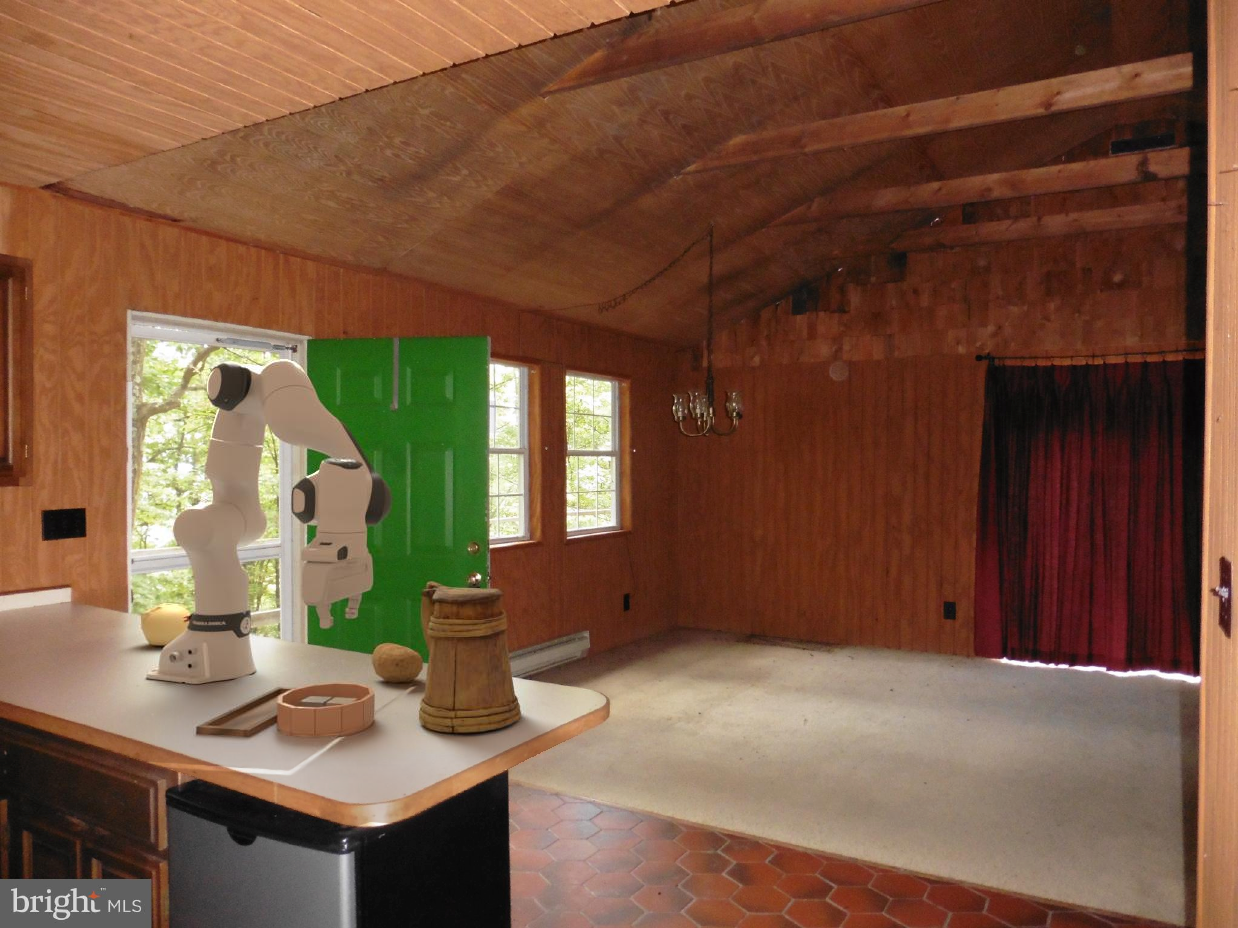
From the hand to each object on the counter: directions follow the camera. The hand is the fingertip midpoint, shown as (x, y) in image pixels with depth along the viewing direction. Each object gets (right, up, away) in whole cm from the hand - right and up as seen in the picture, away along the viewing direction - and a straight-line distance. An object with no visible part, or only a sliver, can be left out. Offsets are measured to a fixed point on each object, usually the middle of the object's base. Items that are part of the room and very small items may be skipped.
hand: (339, 622), depth 151 cm
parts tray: (-16, -19, +6) cm, 25 cm away
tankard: (+21, -19, +5) cm, 29 cm away
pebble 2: (0, -18, 0) cm, 18 cm away
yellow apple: (-67, -19, +65) cm, 96 cm away
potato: (+3, -19, +30) cm, 36 cm away
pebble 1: (-5, -18, +1) cm, 18 cm away
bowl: (-3, -19, +1) cm, 19 cm away
